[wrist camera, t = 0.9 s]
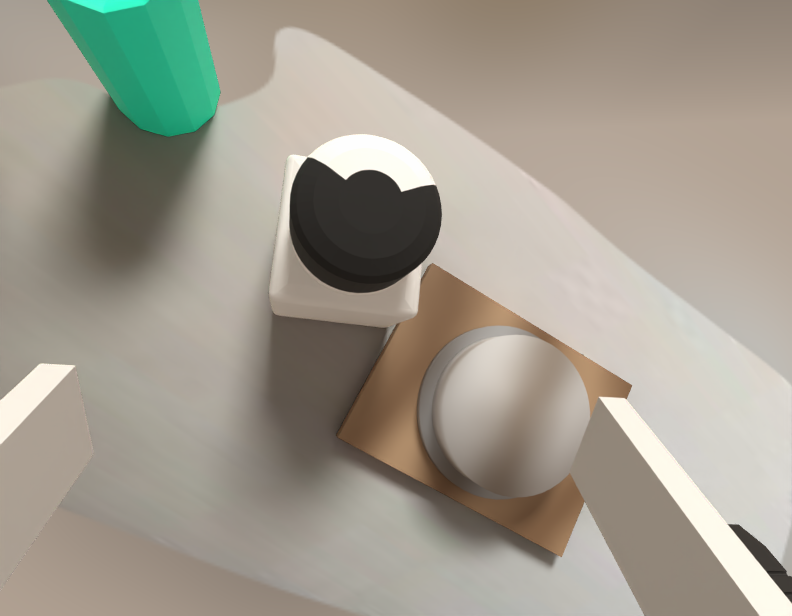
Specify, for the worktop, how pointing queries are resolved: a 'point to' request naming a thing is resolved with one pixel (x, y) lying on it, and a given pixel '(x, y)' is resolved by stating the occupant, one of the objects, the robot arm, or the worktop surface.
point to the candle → (148, 59)
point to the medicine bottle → (353, 233)
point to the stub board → (398, 397)
